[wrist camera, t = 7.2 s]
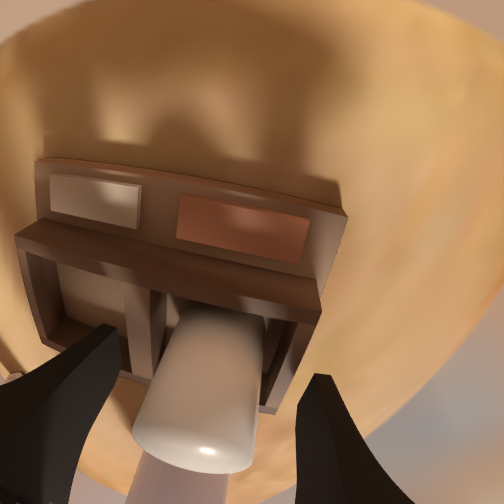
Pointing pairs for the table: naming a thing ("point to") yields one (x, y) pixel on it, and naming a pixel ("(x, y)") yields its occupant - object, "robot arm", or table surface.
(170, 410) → the plug
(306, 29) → the table surface
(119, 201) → the socket board
